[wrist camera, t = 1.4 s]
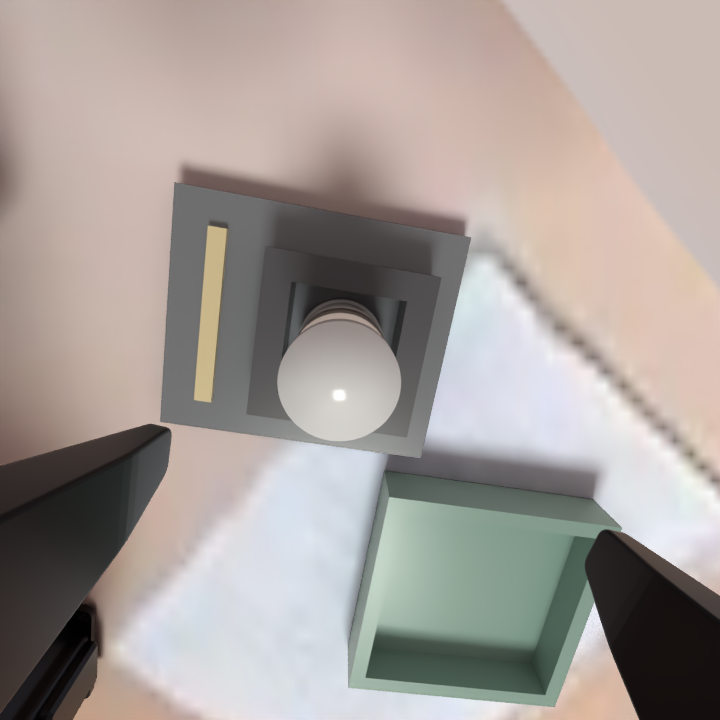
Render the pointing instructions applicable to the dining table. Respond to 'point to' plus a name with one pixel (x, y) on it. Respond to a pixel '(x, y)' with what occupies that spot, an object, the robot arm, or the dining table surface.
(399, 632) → the parts tray
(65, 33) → the dining table surface
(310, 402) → the white banded cylinder
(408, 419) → the board
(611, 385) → the dining table surface
